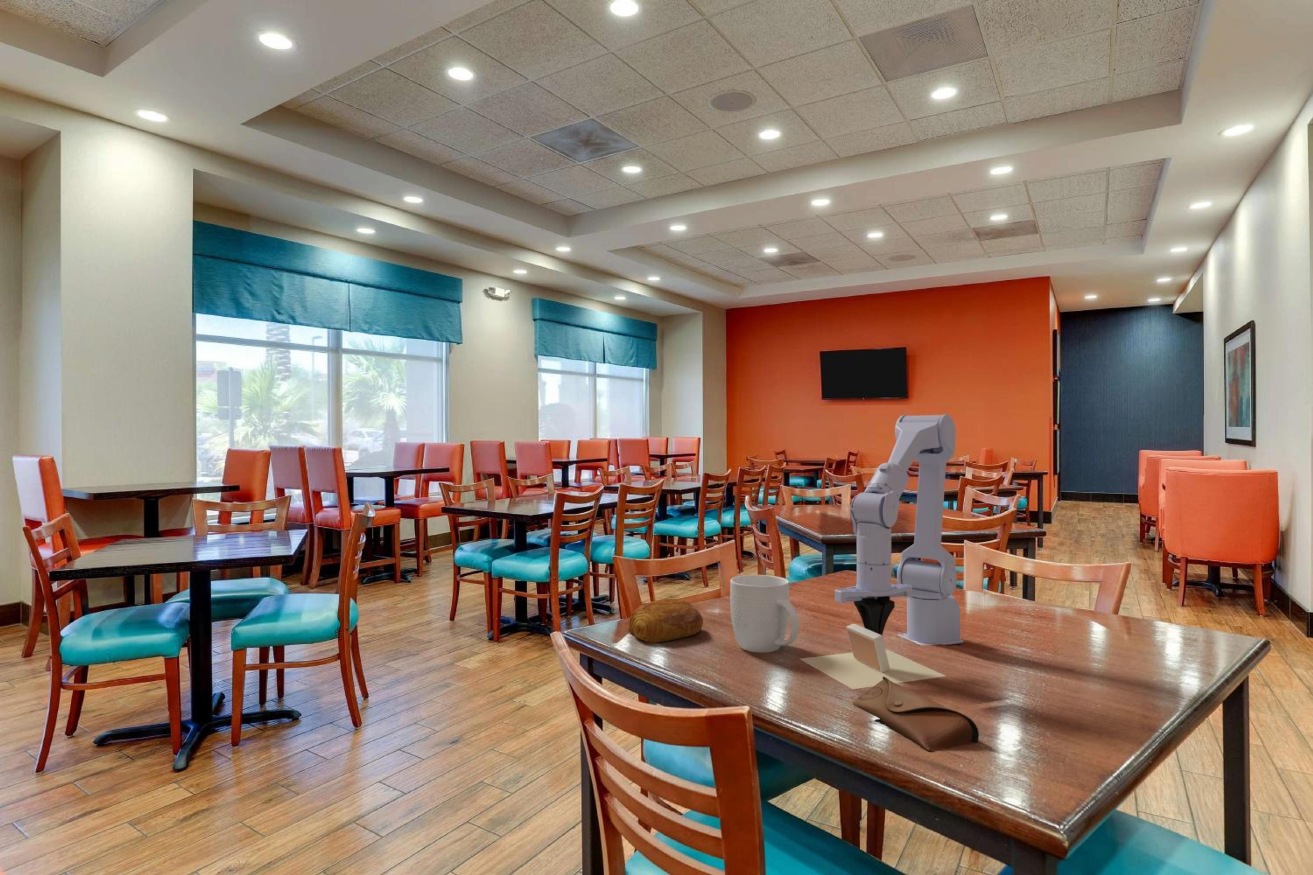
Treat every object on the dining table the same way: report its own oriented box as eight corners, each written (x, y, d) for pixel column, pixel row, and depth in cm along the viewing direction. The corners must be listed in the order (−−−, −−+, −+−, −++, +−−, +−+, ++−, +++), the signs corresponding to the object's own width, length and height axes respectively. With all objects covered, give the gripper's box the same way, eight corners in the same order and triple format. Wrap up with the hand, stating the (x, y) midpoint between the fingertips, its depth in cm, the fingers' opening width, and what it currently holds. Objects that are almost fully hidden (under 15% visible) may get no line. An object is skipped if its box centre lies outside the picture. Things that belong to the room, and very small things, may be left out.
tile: (861, 654, 126) (853, 623, 126) (889, 668, 119) (881, 635, 118) (853, 658, 126) (845, 626, 125) (881, 672, 118) (873, 639, 118)
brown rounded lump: (713, 646, 143) (718, 606, 143) (650, 648, 134) (655, 606, 135) (672, 628, 155) (677, 591, 155) (611, 629, 146) (616, 590, 147)
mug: (818, 656, 129) (817, 584, 129) (775, 668, 122) (775, 592, 122) (759, 637, 141) (759, 572, 141) (718, 647, 134) (717, 578, 134)
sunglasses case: (840, 703, 106) (859, 662, 107) (872, 721, 108) (890, 680, 110) (931, 753, 89) (952, 704, 91) (966, 773, 92) (986, 724, 93)
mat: (884, 651, 132) (884, 648, 132) (946, 679, 117) (946, 675, 117) (799, 662, 126) (799, 658, 126) (852, 692, 111) (852, 689, 111)
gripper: (893, 556, 129) (894, 630, 129) (824, 560, 124) (824, 638, 124) (920, 562, 122) (920, 641, 122) (848, 568, 117) (848, 650, 117)
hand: (873, 640), depth 123 cm, fingers closed
